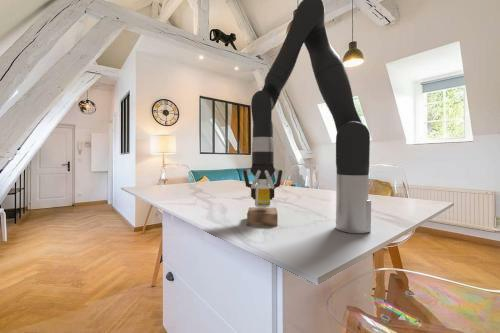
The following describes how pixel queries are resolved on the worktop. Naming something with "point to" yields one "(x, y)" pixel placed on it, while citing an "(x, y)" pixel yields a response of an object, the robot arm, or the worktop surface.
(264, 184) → the supplement bottle
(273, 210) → the walnut block
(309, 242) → the worktop surface
